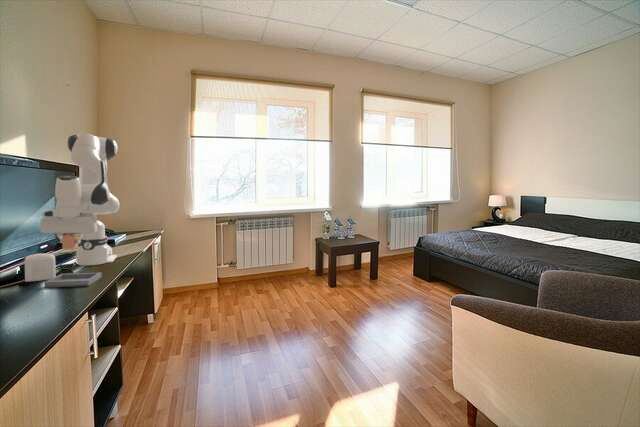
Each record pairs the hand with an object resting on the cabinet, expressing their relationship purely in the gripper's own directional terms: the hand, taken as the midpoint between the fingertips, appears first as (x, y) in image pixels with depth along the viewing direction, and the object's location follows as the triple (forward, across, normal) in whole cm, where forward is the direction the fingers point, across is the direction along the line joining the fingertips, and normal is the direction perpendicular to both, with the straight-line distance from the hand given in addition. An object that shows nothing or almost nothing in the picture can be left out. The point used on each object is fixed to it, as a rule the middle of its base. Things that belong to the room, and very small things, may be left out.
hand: (70, 242), depth 127 cm
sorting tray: (+19, -1, 0) cm, 19 cm away
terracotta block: (+2, 0, 0) cm, 2 cm away
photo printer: (+19, +15, -6) cm, 25 cm away
